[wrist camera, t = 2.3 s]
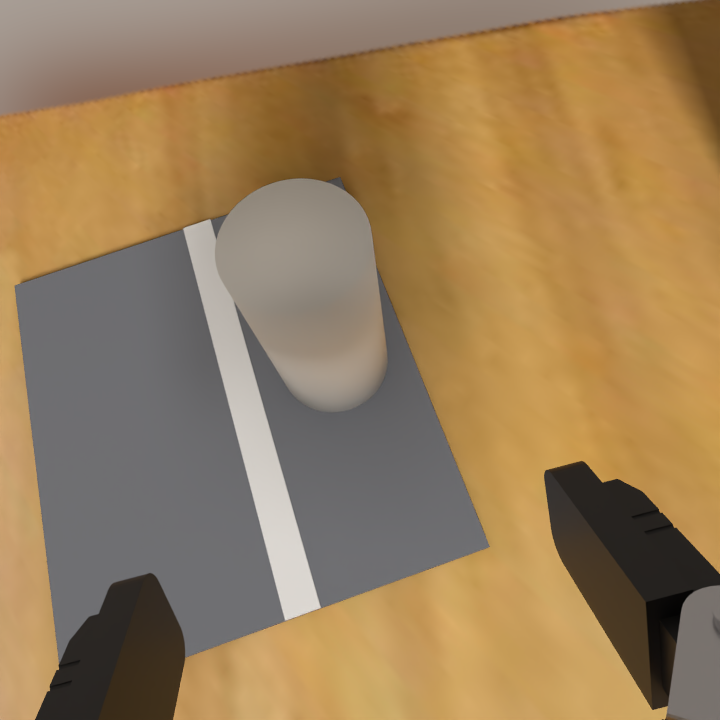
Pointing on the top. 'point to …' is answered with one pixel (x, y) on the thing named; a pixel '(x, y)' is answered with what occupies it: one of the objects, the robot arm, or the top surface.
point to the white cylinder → (308, 289)
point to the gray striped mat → (218, 453)
